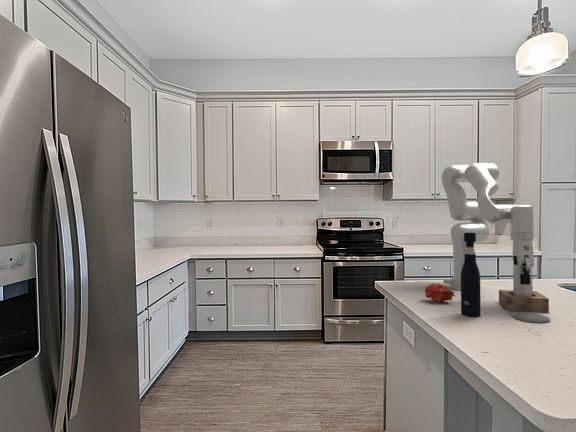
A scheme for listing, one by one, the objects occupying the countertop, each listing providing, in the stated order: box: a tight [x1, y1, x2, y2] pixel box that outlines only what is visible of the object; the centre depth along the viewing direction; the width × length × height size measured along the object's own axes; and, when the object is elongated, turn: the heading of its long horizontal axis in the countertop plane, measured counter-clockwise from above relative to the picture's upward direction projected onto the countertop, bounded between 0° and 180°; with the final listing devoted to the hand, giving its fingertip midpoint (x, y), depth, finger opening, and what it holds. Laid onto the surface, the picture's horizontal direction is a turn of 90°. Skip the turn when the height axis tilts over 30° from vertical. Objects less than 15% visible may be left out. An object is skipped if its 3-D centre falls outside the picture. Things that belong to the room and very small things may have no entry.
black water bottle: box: [460, 233, 482, 318], centre depth 133 cm, size 6×6×30 cm
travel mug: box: [512, 255, 533, 297], centre depth 142 cm, size 6×7×20 cm
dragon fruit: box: [424, 282, 456, 304], centre depth 151 cm, size 8×8×12 cm
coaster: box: [511, 311, 551, 324], centre depth 127 cm, size 11×11×1 cm
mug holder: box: [498, 289, 550, 313], centre depth 142 cm, size 13×13×5 cm
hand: (522, 282), depth 142 cm, fingers closed on travel mug, 6 cm apart
